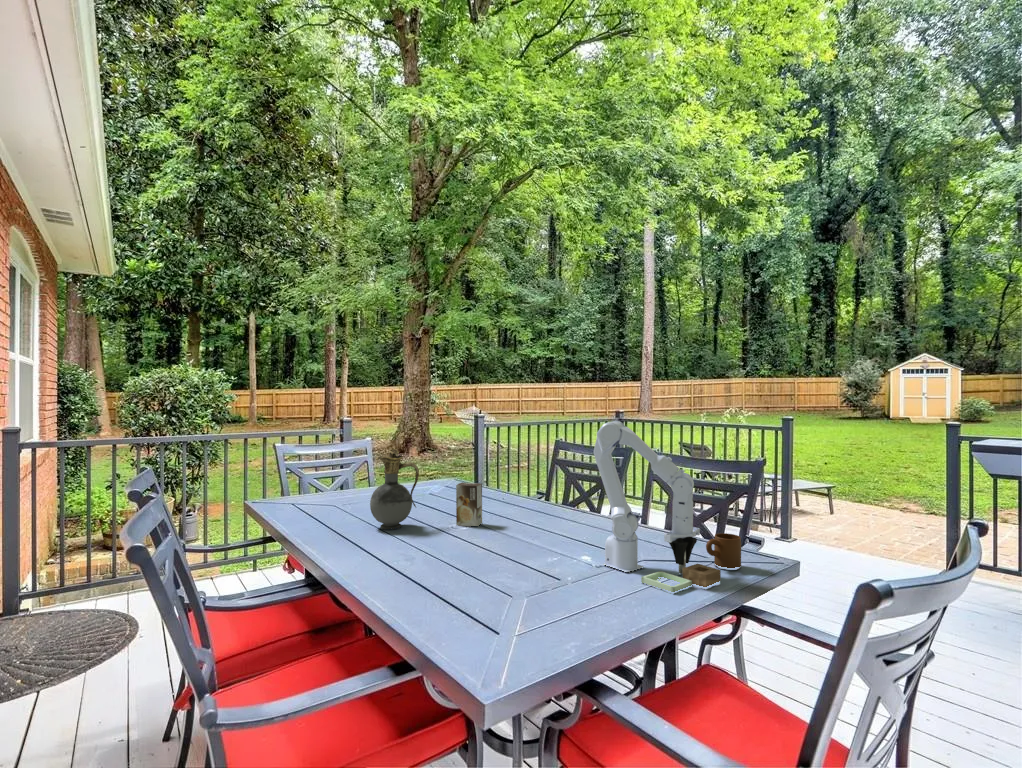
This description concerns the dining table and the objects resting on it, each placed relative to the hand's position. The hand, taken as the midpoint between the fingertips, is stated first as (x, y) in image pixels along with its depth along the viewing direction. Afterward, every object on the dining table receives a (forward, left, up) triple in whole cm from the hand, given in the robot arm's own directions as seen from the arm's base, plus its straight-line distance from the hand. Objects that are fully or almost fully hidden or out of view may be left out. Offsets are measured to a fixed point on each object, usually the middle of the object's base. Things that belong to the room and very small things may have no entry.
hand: (682, 563), depth 164 cm
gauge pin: (0, 0, -3) cm, 3 cm away
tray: (+3, -11, -3) cm, 12 cm away
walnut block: (+8, -2, -3) cm, 9 cm away
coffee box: (-87, -15, -4) cm, 89 cm away
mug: (+4, +15, -4) cm, 16 cm away
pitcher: (-101, -40, -4) cm, 109 cm away
